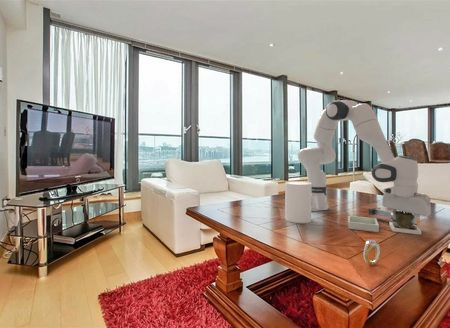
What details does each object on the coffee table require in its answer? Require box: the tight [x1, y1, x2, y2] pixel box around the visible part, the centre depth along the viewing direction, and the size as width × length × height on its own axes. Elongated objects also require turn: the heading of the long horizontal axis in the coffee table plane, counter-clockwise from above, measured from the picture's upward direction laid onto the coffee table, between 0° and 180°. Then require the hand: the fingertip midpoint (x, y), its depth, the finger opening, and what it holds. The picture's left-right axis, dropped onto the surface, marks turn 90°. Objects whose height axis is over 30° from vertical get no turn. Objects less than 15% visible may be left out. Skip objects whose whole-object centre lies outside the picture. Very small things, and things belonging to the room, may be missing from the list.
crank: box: [368, 207, 421, 226], centre depth 124 cm, size 22×6×4 cm, turn 22°
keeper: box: [389, 221, 422, 235], centre depth 115 cm, size 10×10×2 cm
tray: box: [347, 215, 380, 233], centre depth 120 cm, size 12×12×3 cm
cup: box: [395, 210, 415, 229], centre depth 114 cm, size 8×7×8 cm
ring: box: [362, 239, 381, 266], centre depth 81 cm, size 7×3×8 cm, turn 113°
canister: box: [284, 180, 312, 224], centre depth 133 cm, size 14×14×20 cm
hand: (404, 220), depth 114 cm, fingers closed on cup, 7 cm apart
